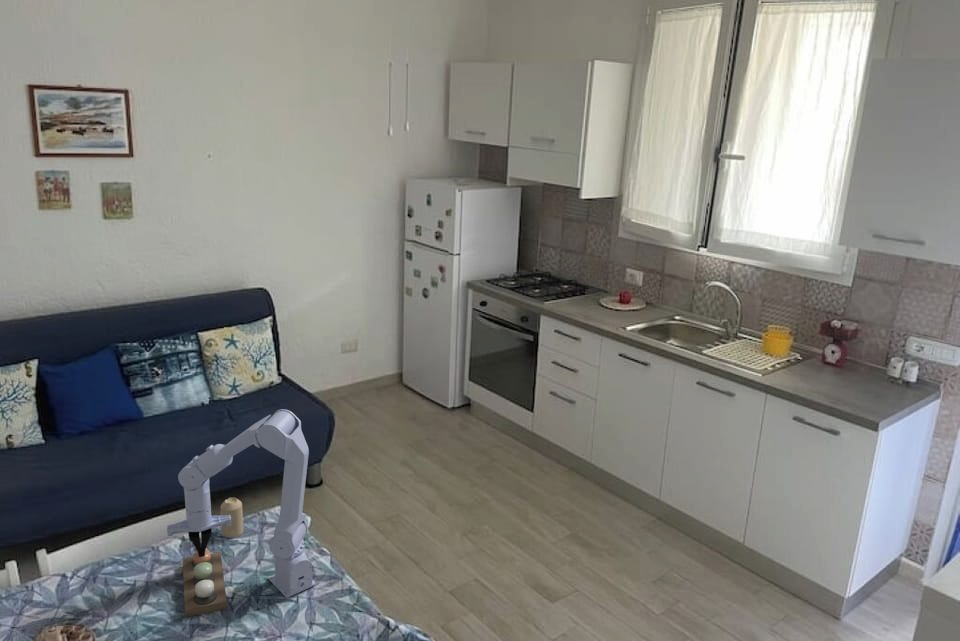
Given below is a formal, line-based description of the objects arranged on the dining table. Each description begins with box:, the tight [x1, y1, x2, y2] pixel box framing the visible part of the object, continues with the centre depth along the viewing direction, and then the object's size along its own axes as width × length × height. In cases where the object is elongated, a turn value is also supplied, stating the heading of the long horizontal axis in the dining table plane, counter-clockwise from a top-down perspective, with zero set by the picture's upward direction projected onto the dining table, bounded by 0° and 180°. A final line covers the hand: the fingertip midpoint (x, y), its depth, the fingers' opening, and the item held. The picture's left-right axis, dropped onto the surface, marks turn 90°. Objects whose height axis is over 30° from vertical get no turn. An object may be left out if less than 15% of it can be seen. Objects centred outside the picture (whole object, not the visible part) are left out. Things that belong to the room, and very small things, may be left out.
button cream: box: [195, 580, 214, 597], centre depth 166 cm, size 4×4×2 cm
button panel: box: [182, 551, 228, 618], centre depth 173 cm, size 20×9×2 cm, turn 23°
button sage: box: [194, 562, 212, 579], centre depth 172 cm, size 4×4×2 cm
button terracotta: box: [192, 549, 212, 565], centre depth 179 cm, size 4×4×2 cm
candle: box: [220, 496, 244, 539], centre depth 194 cm, size 6×6×10 cm
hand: (201, 554), depth 178 cm, fingers closed, pressing on button terracotta
